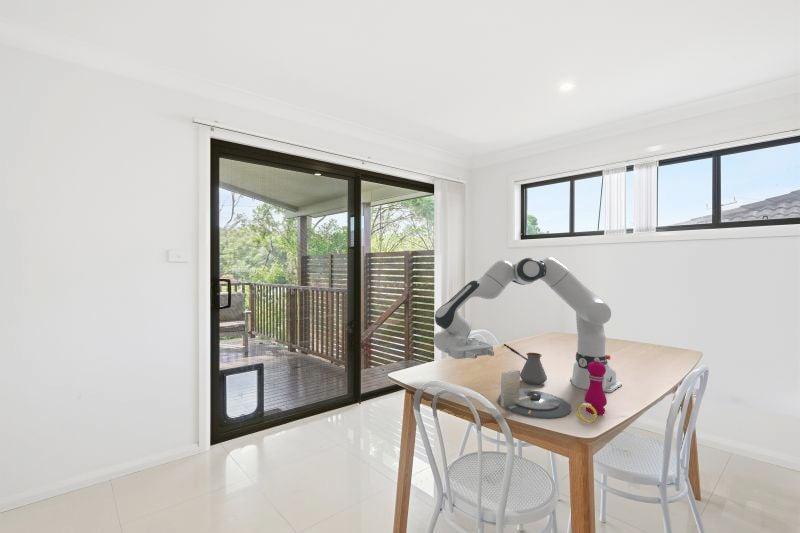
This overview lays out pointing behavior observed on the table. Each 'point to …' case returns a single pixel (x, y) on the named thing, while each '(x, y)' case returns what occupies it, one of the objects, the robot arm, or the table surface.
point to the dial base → (560, 412)
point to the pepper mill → (596, 387)
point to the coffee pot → (531, 368)
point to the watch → (588, 407)
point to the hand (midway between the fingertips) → (484, 355)
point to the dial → (524, 394)
